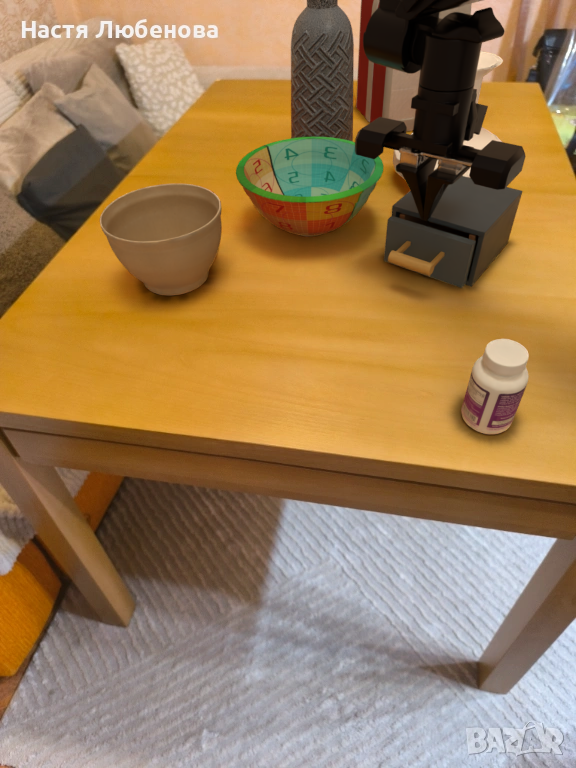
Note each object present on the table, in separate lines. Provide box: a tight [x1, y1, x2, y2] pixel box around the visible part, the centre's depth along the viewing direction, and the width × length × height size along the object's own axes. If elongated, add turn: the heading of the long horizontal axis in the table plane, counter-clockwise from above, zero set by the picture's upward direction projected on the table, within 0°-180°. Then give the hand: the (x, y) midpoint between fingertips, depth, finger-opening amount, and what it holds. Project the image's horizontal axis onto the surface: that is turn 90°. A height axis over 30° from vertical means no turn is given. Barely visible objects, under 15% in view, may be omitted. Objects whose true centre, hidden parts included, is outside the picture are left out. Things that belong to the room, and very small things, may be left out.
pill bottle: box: [460, 338, 530, 435], centre depth 54 cm, size 5×5×10 cm
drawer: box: [383, 213, 479, 289], centre depth 74 cm, size 17×12×7 cm
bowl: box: [235, 137, 385, 237], centre depth 84 cm, size 22×22×10 cm
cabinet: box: [390, 169, 524, 288], centre depth 77 cm, size 13×13×8 cm
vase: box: [290, 0, 355, 142], centre depth 96 cm, size 12×12×28 cm
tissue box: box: [355, 0, 473, 132], centre depth 109 cm, size 17×18×27 cm
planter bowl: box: [99, 183, 223, 296], centre depth 75 cm, size 16×16×11 cm
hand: (425, 218), depth 67 cm, fingers closed
